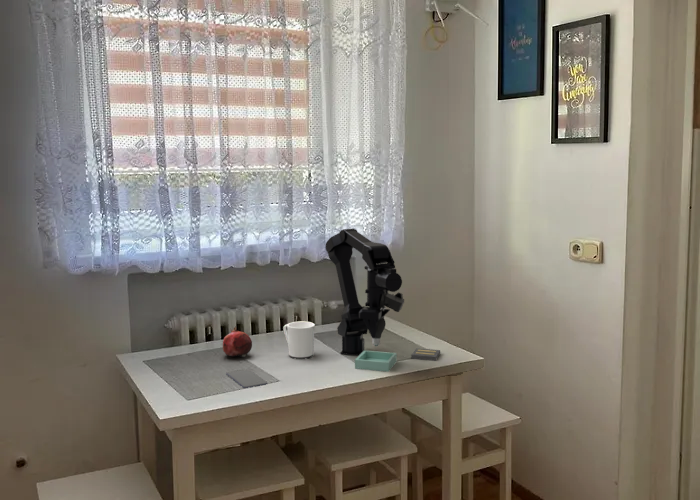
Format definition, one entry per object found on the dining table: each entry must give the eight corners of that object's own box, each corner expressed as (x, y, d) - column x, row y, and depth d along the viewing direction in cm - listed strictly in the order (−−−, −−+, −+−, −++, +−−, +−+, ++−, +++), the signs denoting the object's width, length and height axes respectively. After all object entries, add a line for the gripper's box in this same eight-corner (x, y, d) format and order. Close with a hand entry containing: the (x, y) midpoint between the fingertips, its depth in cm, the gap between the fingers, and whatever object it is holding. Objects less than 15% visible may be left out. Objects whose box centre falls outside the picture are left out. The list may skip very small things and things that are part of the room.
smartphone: (243, 387, 208) (225, 372, 220) (243, 390, 208) (225, 375, 221) (268, 382, 211) (248, 368, 224) (268, 385, 212) (248, 371, 224)
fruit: (254, 359, 236) (253, 328, 234) (224, 361, 233) (223, 330, 232) (249, 351, 244) (249, 321, 243) (221, 353, 242) (220, 323, 240)
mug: (319, 353, 242) (319, 323, 240) (306, 360, 234) (306, 329, 232) (290, 349, 246) (290, 319, 245) (277, 356, 238) (276, 325, 237)
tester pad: (411, 358, 236) (411, 354, 236) (416, 351, 244) (416, 347, 243) (435, 360, 234) (435, 356, 234) (440, 353, 241) (440, 349, 241)
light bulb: (383, 349, 225) (384, 317, 224) (365, 347, 226) (366, 316, 225) (386, 344, 231) (386, 312, 229) (368, 343, 232) (369, 312, 230)
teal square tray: (354, 368, 226) (354, 359, 225) (364, 358, 236) (364, 350, 235) (388, 371, 223) (388, 362, 222) (396, 361, 233) (396, 353, 232)
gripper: (394, 293, 214) (394, 345, 217) (408, 281, 232) (408, 329, 234) (358, 291, 218) (358, 342, 220) (374, 279, 235) (374, 326, 238)
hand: (376, 335), depth 228 cm, fingers closed on light bulb, 5 cm apart
